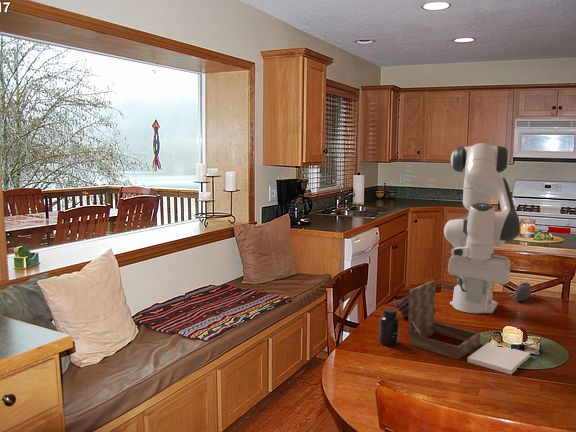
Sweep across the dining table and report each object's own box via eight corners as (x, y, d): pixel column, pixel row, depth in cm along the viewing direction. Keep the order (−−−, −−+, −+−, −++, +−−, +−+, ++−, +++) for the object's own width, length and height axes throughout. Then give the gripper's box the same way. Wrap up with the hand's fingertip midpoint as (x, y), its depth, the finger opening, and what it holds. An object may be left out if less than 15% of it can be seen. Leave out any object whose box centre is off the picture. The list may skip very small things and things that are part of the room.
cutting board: (488, 346, 184) (488, 342, 184) (529, 357, 175) (530, 352, 174) (467, 361, 171) (467, 357, 170) (510, 374, 161) (511, 370, 161)
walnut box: (430, 330, 199) (433, 280, 196) (479, 343, 186) (483, 290, 183) (407, 344, 185) (409, 290, 183) (458, 359, 173) (461, 301, 170)
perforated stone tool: (522, 304, 232) (523, 289, 231) (510, 302, 235) (511, 287, 234) (532, 297, 243) (533, 282, 242) (520, 295, 246) (521, 280, 246)
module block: (472, 298, 179) (473, 274, 178) (486, 301, 176) (488, 277, 174) (466, 301, 175) (467, 277, 174) (480, 304, 172) (482, 279, 171)
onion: (513, 342, 188) (515, 320, 187) (529, 346, 184) (531, 325, 183) (506, 346, 184) (508, 324, 183) (523, 351, 180) (525, 329, 179)
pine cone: (438, 320, 211) (439, 296, 209) (428, 326, 203) (429, 302, 202) (398, 311, 222) (399, 288, 220) (387, 317, 214) (388, 293, 212)
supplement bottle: (398, 346, 183) (399, 314, 181) (378, 345, 184) (379, 312, 183) (398, 339, 190) (399, 308, 188) (379, 338, 191) (380, 306, 189)
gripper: (514, 255, 169) (511, 296, 170) (455, 246, 182) (453, 284, 184) (507, 258, 164) (504, 300, 166) (446, 249, 178) (444, 288, 180)
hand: (477, 292), depth 175 cm, fingers closed on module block, 5 cm apart
